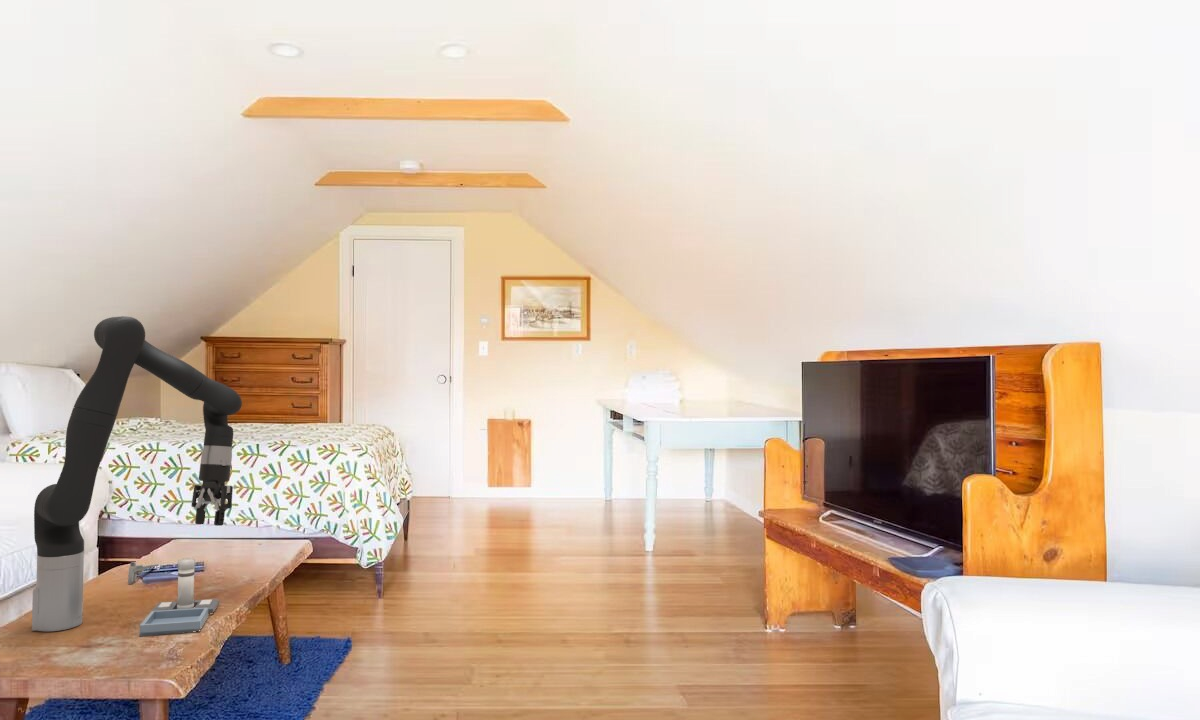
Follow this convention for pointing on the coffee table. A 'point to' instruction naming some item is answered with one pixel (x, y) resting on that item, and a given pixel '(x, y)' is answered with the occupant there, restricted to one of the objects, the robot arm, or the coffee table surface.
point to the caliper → (136, 571)
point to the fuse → (186, 583)
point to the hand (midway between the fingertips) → (209, 524)
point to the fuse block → (207, 603)
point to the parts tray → (173, 621)
